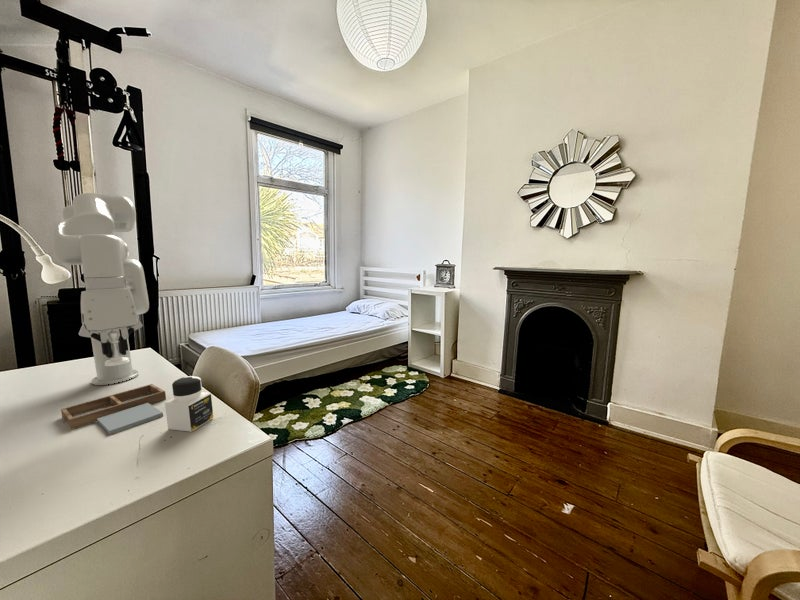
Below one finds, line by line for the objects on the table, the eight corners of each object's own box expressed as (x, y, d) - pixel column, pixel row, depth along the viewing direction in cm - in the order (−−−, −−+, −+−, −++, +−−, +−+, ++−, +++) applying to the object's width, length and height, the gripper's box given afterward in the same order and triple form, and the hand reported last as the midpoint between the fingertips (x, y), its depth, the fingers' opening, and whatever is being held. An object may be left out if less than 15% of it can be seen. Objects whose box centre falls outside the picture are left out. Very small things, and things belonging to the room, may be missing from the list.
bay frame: (62, 417, 87) (60, 409, 87) (152, 391, 103) (151, 383, 103) (71, 429, 81) (69, 420, 81) (166, 399, 97) (165, 391, 97)
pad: (97, 422, 84) (96, 418, 84) (148, 405, 93) (147, 402, 93) (109, 434, 78) (109, 431, 78) (163, 416, 87) (162, 412, 87)
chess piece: (99, 366, 82) (93, 327, 80) (118, 359, 86) (113, 323, 85) (115, 366, 81) (110, 327, 80) (134, 360, 86) (129, 323, 84)
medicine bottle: (191, 432, 78) (186, 385, 77) (167, 429, 80) (161, 383, 78) (214, 418, 85) (209, 374, 84) (191, 415, 87) (186, 373, 85)
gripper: (140, 281, 90) (148, 346, 92) (57, 286, 77) (69, 361, 79) (149, 282, 85) (158, 350, 88) (63, 287, 72) (76, 366, 75)
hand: (116, 354), depth 83 cm, fingers closed on chess piece
